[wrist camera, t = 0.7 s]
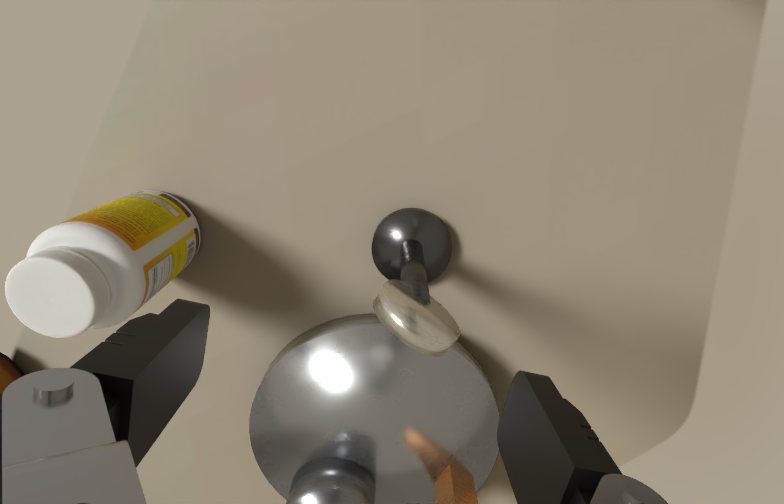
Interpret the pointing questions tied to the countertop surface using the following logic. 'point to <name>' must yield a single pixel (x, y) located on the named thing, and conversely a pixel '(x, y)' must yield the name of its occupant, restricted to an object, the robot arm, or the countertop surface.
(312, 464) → the cover
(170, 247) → the supplement bottle
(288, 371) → the turntable
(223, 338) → the countertop surface
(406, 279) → the dial stand
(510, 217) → the countertop surface
